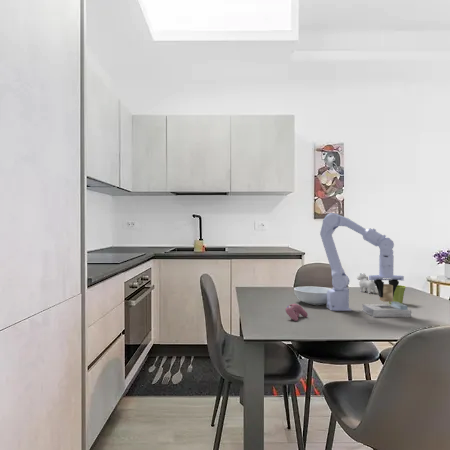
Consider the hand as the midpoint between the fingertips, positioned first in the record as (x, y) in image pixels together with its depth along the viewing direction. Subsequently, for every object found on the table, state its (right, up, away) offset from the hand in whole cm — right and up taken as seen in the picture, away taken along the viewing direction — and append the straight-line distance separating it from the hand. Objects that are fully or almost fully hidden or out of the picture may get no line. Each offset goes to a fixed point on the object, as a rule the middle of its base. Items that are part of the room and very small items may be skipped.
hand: (386, 296), depth 168 cm
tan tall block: (0, -2, 0) cm, 2 cm away
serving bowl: (-26, -8, +22) cm, 35 cm away
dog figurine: (+12, -8, +56) cm, 58 cm away
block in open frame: (0, -7, 0) cm, 7 cm away
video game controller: (-41, -7, -10) cm, 43 cm away
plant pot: (+14, -8, +23) cm, 28 cm away
